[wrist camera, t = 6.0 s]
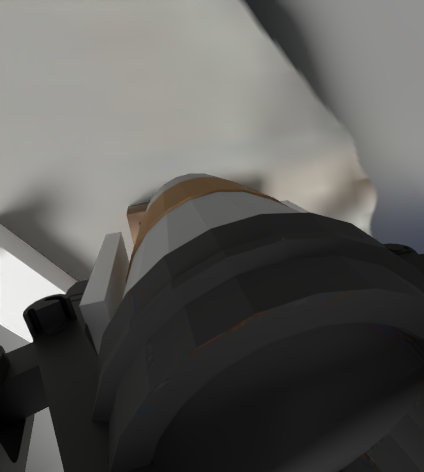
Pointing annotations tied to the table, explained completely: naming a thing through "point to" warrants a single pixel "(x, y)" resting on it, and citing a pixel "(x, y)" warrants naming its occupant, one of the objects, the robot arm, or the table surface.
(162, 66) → the table surface
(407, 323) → the coffee cup
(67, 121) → the table surface
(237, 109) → the table surface
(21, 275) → the bracket
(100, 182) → the table surface
